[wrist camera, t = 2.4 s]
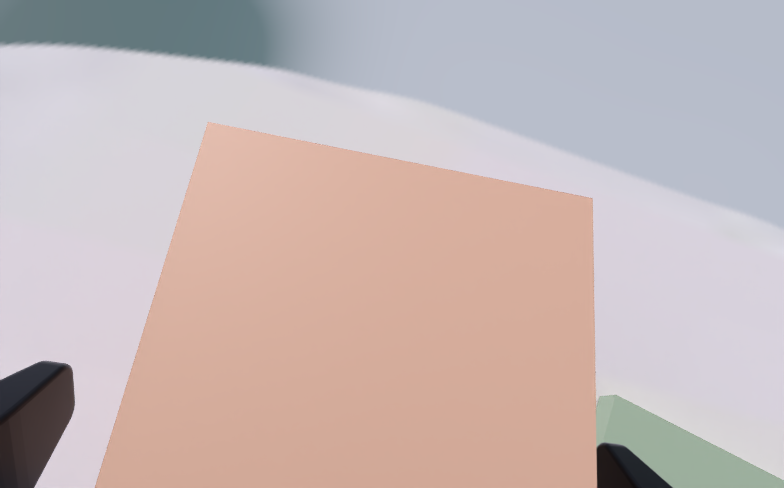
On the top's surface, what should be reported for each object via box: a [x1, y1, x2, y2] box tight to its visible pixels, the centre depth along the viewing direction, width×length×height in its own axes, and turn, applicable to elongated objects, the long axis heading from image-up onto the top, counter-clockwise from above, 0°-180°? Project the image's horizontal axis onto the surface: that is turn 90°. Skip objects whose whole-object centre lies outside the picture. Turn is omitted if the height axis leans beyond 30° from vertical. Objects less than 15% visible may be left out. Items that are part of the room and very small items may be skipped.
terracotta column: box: [95, 122, 597, 488], centre depth 11 cm, size 5×5×12 cm
